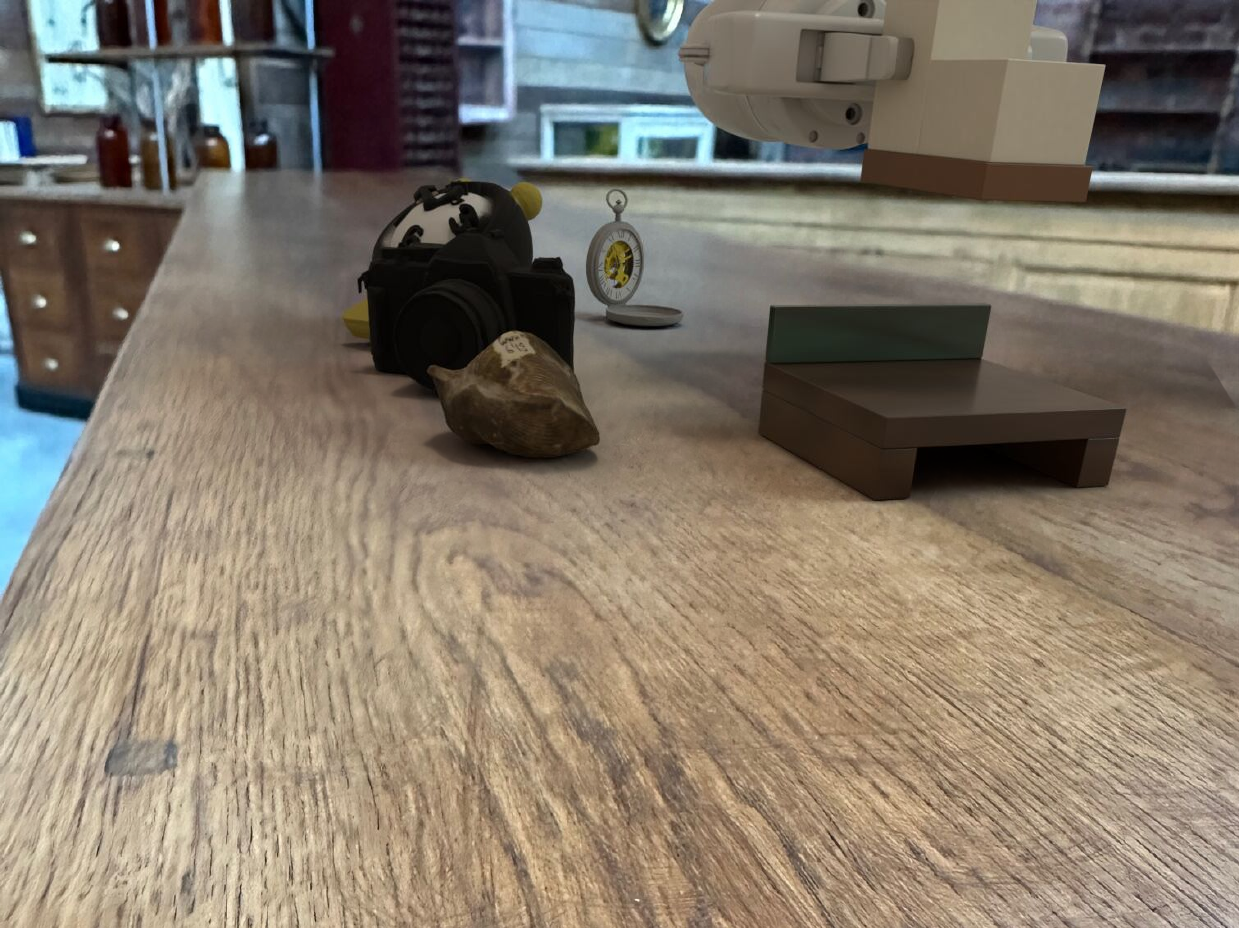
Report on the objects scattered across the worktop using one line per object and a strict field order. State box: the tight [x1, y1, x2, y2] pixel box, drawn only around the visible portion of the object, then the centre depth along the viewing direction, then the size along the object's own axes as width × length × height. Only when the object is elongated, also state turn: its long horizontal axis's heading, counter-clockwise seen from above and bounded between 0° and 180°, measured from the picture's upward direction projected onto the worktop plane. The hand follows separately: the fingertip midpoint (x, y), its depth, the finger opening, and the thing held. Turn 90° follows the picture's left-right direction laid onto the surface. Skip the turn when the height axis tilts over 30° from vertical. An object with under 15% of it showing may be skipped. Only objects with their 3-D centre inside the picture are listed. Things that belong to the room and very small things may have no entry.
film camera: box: [357, 227, 576, 391], centre depth 78 cm, size 15×10×9 cm, turn 73°
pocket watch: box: [585, 187, 684, 328], centre depth 102 cm, size 8×8×10 cm
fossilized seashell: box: [427, 331, 601, 459], centre depth 65 cm, size 8×7×10 cm
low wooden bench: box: [757, 302, 1128, 501], centre depth 66 cm, size 14×14×7 cm
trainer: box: [859, 0, 1106, 203], centre depth 58 cm, size 12×6×10 cm, turn 19°
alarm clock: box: [341, 177, 543, 341], centre depth 93 cm, size 12×15×15 cm
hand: (961, 62), depth 60 cm, fingers closed on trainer, 5 cm apart
